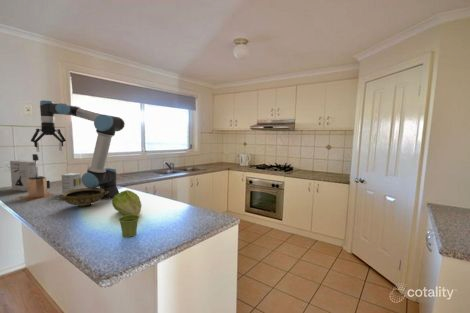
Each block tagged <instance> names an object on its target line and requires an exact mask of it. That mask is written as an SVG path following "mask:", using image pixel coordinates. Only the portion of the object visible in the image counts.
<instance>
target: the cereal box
mask: <svg viewBox="0 0 470 313" xmlns="http://www.w3.org/2000/svg"><path fill="white" fill-rule="evenodd" d="M9 165H10V182H11V190H14V191H22V192H28V189H27V179H28V178H29V177H36V172H35V161H33V160H26V159H25V160H24V159H17V160H15V159H14V160H10V161H9ZM37 175H38V176H39V166H38V164H37Z"/></svg>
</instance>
